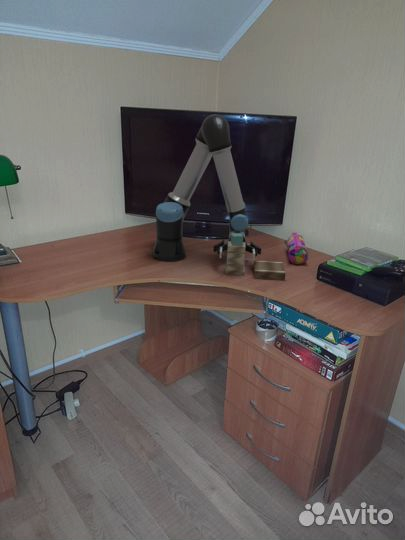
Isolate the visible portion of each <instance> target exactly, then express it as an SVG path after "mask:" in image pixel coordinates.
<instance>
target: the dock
mask: <svg viewBox="0 0 405 540" xmlns="http://www.w3.org/2000/svg"><path fill="white" fill-rule="evenodd" d="M253 277H254V278H253V279H257V280H261V279H263V280H274V281H275V280H276V281H286V270H285V267H284V262H282V261H267V260H253Z"/></svg>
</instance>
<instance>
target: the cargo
mask: <svg viewBox="0 0 405 540" xmlns="http://www.w3.org/2000/svg"><path fill="white" fill-rule="evenodd" d="M231 244H232V245H233V246H243V235H242V234H241V233H231Z"/></svg>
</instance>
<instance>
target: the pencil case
mask: <svg viewBox="0 0 405 540" xmlns="http://www.w3.org/2000/svg"><path fill="white" fill-rule="evenodd" d="M297 233H298V232H292V234H291V235H290V236H289V237H288V238H287V239H286V240H285V241H284V245H286V249H287V255H288V256H287V257H288V259H289V261H290V262H291V263H292V264H295V265H302V264H304V263H306V262H307V260H308V258H309V251H308V249H307V248H306V243H305V240H304V237H303V236H302V235H300V234H297Z"/></svg>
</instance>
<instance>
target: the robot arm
mask: <svg viewBox="0 0 405 540" xmlns="http://www.w3.org/2000/svg"><path fill="white" fill-rule="evenodd" d="M194 140H195V143H196V144H195V146H194V148H193V151H192V153H191V154H190V157H189V158H188V160H187V163H186V165H185V167H184V168H183V170H182V173H181V175H180V177H179V179H178V181H177V183H176V185H175V187H174V188H173V191H172V192H171V191H170V192H169V193H168V194H167V196H166V198H165V200H164V202H162V203H159V204H158V205H157V206H156V209H155V221H156V222H155V225H156V228H155V229H156V233H155V234H156V239H155V243H154V245H153V246H154V247H153V250H152V257H153V258H154V257H155V258H157V259H156V260H158V259H160V260H159V261H161V260H165V261H164V262H176V261H175V260H178V261H181V260H180V259H182V260H184V259H185V258H186V257H187V251H186V247H185V244H184V243H185V242H184V240H183V232H184V231H183V226H184V225H183V224H184V219H185V217H186V215H187V213H188V211H189V209H190V207H191V205H192V204H191V202H190V201H191V198H192V197H193V194H194V192H195V191H196V188H197V186H198V184H199V182H200V181H201V178H203V177H202V176H203V174H204V173H205V171H206V169H207V167H208V165H209V164H210V162H211V159H212V158H213V161H214V166H215V170H216V172H217V177H218V180H219V184H220V188H221V191H222V194H223V199H224V201H225V206H226V209H227V215H228V218H229V224H228V225H229V226H228V227H229V230H228V241H225V240H224V239H222V240H221V241H220V242H218V243H217V244H214V245H213V252H214V253H215V252H216V253H217V255H219V259H222V255H223V252H225V251H226V252H227V250H228V242H231V233H241V234H242V235H243V242H245V252H248V253H250V254H251V256H252V261H256V257H258V255H261V254H262V248H261V247H260V246H258V245H256V244H255V243H254V242H253V241H250V242H249V243H247V241H246V229H247V228H248V226H249V218H248V215H247V212H246V209H247V208H246V203H245V202H244V199H243V195H242V192H241V187H240V184H239V179H238V176H237V172H236V168H235V165H234V164H235V163H234V159H233V156H232V153H231V149H232V147H233V146H232V142H231V135H230V125H229V123H228V121H227V119H226V118H225V117H224V116H222V115H220V114H216V113H214V114H210V115H208V116H207V117H206V118H204V120H203V121H202V124H201V127H200V128H199V131H198V133H197V135H196V137H195V139H194ZM155 258H154V259H155ZM183 258H184V259H183Z"/></svg>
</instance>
